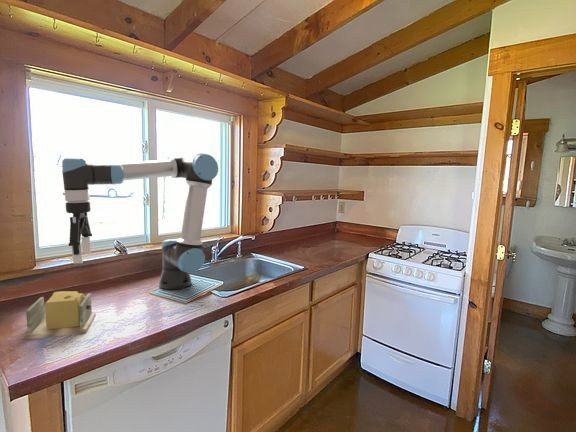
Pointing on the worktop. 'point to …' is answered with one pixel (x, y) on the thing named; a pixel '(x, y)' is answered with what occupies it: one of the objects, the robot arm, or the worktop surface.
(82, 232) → the robot arm
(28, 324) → the holder
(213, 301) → the worktop surface
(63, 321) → the cheese
